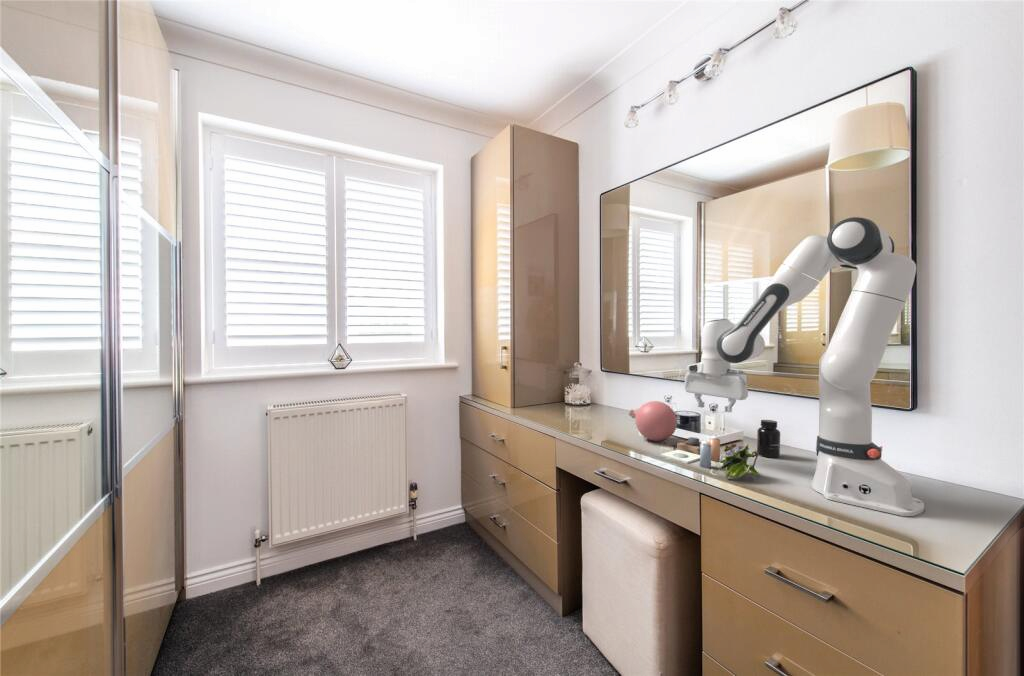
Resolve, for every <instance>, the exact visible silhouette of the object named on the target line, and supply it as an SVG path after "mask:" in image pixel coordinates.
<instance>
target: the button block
mask: <svg viewBox="0 0 1024 676" xmlns="http://www.w3.org/2000/svg"><path fill="white" fill-rule="evenodd" d="M700 444H701V441H699V446H692V445H688V440H686V441H681V442H677V443H676V450H682V451H686V452H689V453H693V454H697V455H700Z"/></svg>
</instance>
